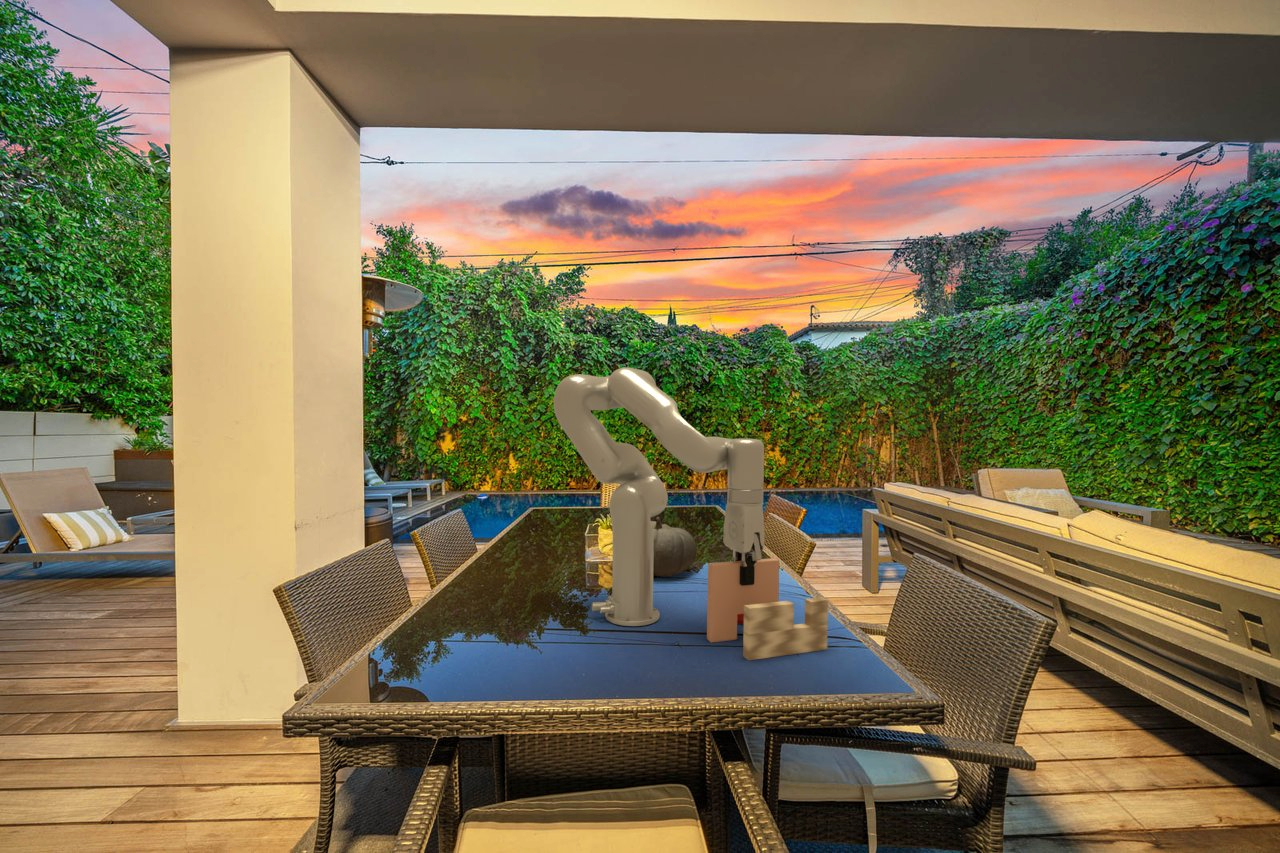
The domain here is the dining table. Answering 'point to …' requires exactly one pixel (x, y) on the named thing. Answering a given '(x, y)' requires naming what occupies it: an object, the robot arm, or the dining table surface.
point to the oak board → (784, 629)
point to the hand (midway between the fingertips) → (743, 582)
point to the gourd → (672, 549)
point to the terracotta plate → (737, 595)
